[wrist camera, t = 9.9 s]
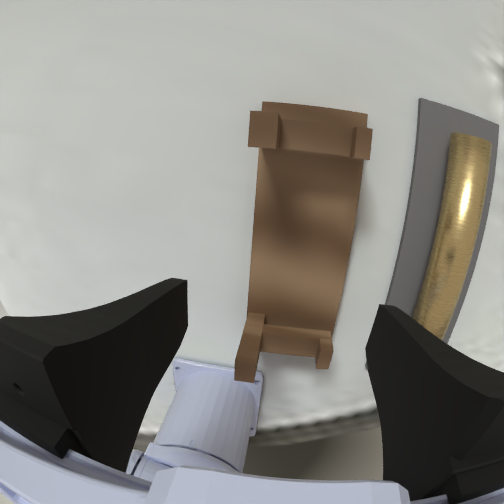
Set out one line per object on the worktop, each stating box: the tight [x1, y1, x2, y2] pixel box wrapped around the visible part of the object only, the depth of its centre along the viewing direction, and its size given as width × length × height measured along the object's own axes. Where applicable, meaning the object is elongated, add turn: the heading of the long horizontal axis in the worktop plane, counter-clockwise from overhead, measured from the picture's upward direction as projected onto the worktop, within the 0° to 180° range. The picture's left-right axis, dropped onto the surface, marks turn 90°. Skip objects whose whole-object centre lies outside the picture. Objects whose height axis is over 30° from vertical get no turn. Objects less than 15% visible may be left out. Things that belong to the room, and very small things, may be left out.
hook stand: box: [234, 102, 373, 383], centre depth 17 cm, size 17×6×6 cm, turn 176°
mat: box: [365, 98, 499, 368], centre depth 19 cm, size 21×7×1 cm, turn 176°
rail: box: [412, 132, 492, 340], centre depth 18 cm, size 17×3×3 cm, turn 176°
